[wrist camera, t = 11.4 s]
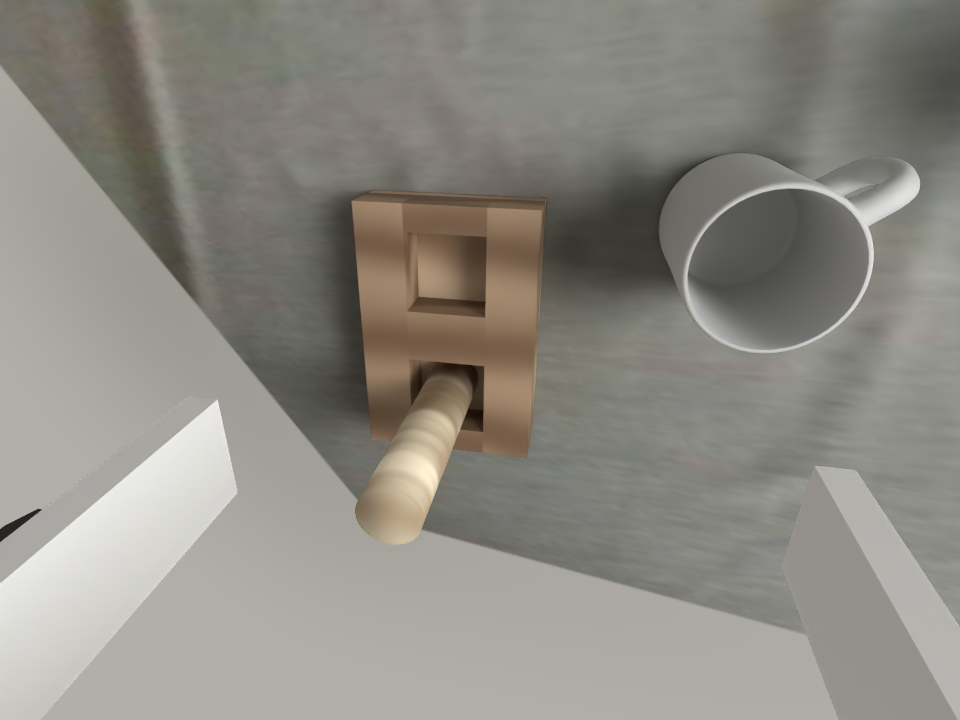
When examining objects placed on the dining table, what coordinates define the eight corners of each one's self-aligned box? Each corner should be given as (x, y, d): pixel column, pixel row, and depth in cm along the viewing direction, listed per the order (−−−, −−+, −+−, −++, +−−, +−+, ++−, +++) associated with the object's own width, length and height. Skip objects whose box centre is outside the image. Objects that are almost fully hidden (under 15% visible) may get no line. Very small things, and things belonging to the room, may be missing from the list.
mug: (694, 308, 40) (726, 383, 30) (634, 201, 37) (647, 244, 28) (882, 214, 35) (992, 266, 25) (827, 85, 33) (925, 88, 23)
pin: (431, 353, 44) (352, 485, 29) (478, 358, 43) (421, 494, 29) (432, 395, 45) (357, 539, 31) (478, 399, 45) (422, 548, 30)
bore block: (373, 189, 40) (351, 200, 36) (546, 198, 38) (541, 210, 35) (388, 412, 48) (371, 439, 44) (532, 428, 46) (526, 457, 42)
